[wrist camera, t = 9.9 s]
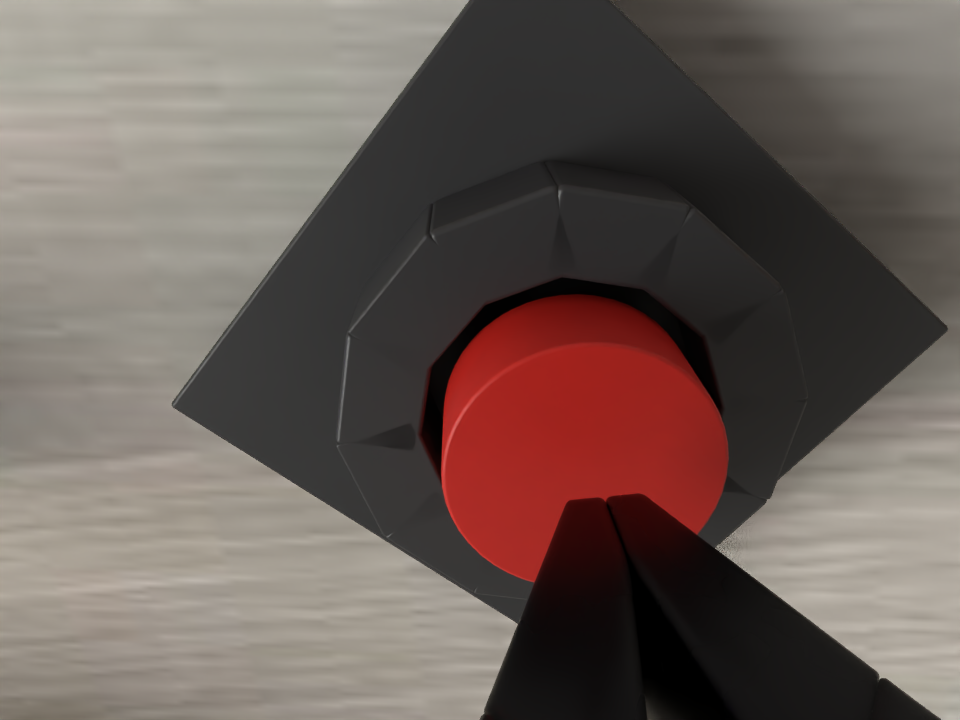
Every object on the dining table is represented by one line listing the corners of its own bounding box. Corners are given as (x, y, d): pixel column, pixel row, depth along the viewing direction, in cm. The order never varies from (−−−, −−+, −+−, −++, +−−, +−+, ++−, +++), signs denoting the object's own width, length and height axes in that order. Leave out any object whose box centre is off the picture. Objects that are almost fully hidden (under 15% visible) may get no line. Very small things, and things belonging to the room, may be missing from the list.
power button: (743, 392, 11) (790, 456, 10) (575, 550, 12) (592, 631, 11) (558, 240, 10) (576, 282, 9) (393, 426, 11) (382, 495, 10)
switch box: (883, 285, 14) (1027, 377, 11) (561, 584, 17) (588, 739, 13) (516, -65, 12) (541, -99, 8) (209, 352, 15) (125, 466, 11)
